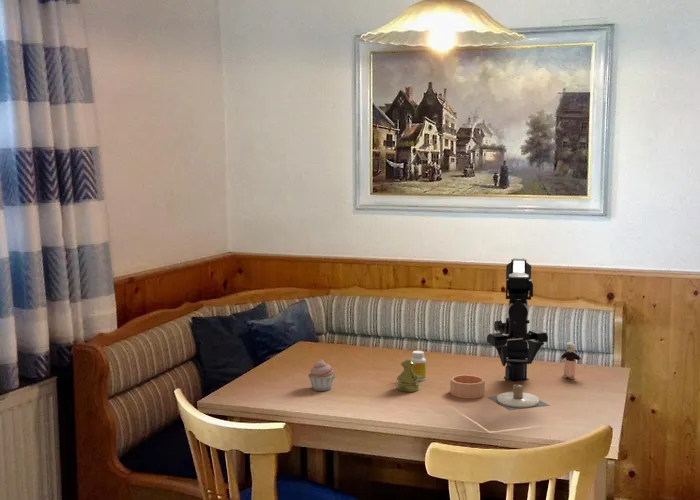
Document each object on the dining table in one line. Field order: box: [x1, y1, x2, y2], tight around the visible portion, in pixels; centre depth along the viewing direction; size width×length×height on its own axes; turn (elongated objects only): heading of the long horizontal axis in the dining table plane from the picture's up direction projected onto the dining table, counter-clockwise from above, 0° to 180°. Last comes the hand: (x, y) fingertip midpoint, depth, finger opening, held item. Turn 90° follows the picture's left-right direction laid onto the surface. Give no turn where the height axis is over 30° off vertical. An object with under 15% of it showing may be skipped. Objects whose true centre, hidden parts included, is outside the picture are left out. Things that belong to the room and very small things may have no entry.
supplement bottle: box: [410, 350, 427, 382], centre depth 273 cm, size 5×5×10 cm
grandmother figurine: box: [559, 341, 583, 380], centre depth 273 cm, size 8×4×13 cm, turn 68°
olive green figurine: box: [396, 359, 420, 393], centre depth 261 cm, size 7×7×10 cm
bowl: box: [449, 374, 486, 399], centre depth 255 cm, size 11×11×5 cm
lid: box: [496, 383, 540, 408], centre depth 246 cm, size 13×13×5 cm
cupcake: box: [307, 359, 336, 392], centre depth 262 cm, size 9×9×10 cm
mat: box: [487, 395, 550, 411], centre depth 246 cm, size 14×14×1 cm
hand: (516, 364), depth 245 cm, fingers open, 9 cm apart
